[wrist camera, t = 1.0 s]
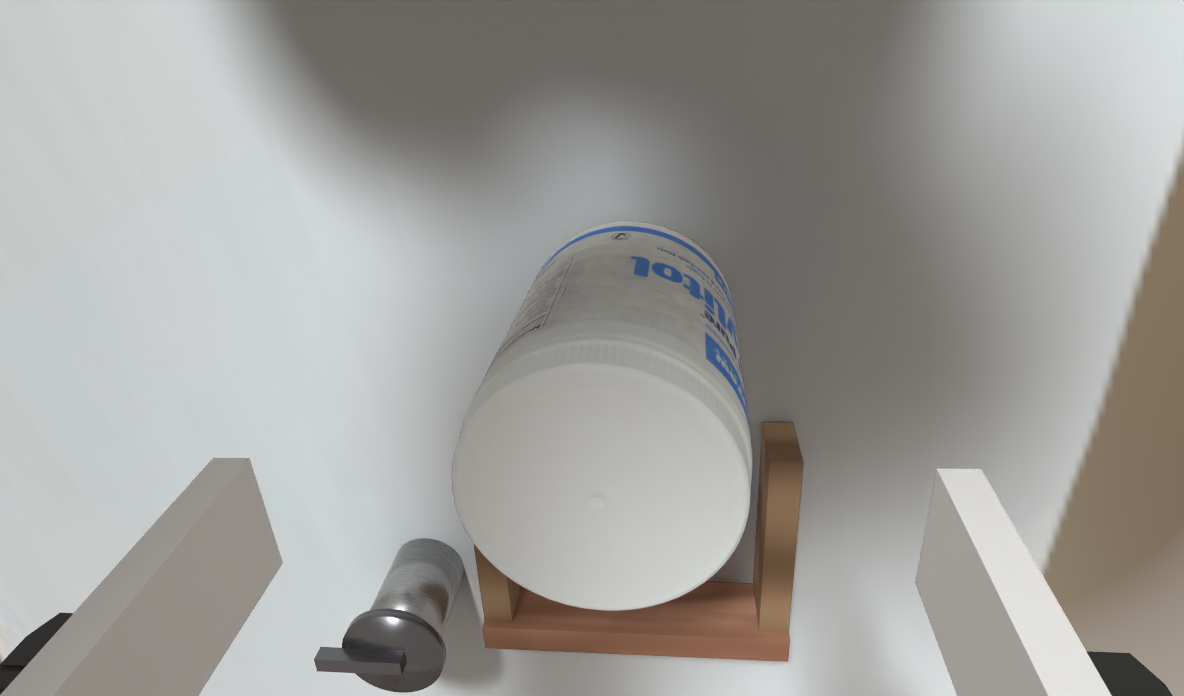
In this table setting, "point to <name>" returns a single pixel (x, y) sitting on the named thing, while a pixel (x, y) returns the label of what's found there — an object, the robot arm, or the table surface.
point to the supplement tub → (612, 426)
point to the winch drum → (402, 622)
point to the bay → (691, 622)
